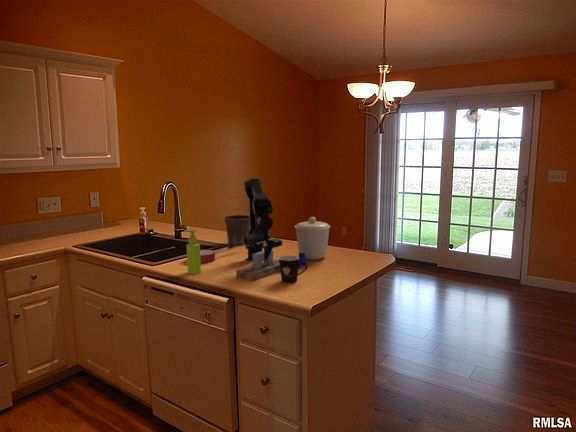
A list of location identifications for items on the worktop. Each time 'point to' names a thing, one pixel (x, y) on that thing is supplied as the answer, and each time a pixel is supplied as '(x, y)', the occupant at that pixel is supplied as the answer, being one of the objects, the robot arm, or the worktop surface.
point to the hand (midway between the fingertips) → (263, 259)
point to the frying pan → (213, 253)
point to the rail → (258, 271)
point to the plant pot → (237, 228)
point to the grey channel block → (259, 258)
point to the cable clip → (302, 259)
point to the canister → (312, 238)
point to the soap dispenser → (193, 254)
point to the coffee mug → (289, 268)
